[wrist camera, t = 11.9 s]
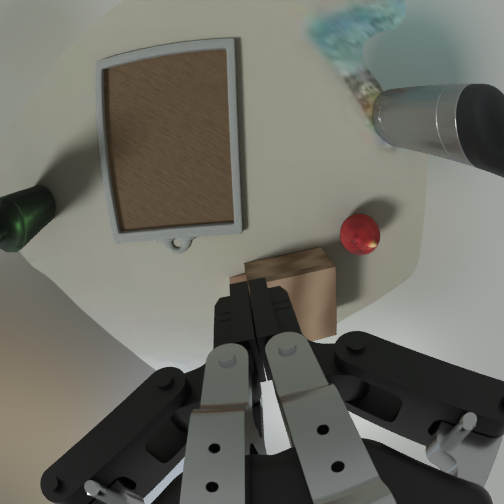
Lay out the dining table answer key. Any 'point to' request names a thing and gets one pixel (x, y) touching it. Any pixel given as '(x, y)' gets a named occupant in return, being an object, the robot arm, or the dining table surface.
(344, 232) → the onion
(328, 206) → the dining table surface
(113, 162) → the grey framed board
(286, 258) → the cubby
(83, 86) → the dining table surface
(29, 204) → the potion bottle
